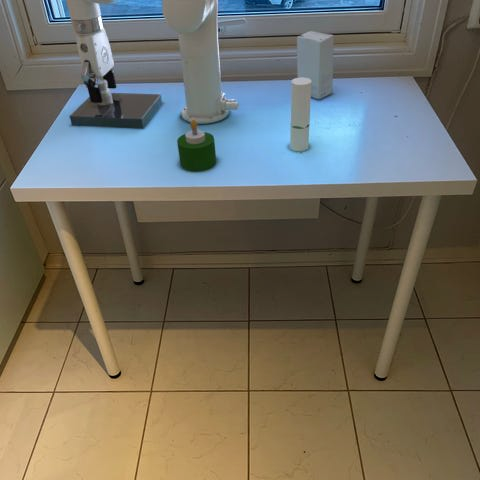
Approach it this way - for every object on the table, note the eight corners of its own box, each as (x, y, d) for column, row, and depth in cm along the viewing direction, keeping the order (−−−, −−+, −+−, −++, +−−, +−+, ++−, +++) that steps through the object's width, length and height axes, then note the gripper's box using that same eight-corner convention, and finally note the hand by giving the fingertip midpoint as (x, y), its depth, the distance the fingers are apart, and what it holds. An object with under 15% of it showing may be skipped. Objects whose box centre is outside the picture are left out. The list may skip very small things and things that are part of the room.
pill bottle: (116, 107, 145) (110, 78, 139) (112, 113, 142) (105, 84, 136) (101, 107, 145) (94, 78, 140) (96, 114, 142) (89, 84, 137)
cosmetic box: (332, 93, 144) (336, 35, 133) (318, 100, 141) (321, 41, 130) (309, 86, 148) (311, 29, 138) (295, 93, 145) (296, 34, 135)
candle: (180, 155, 122) (174, 113, 115) (215, 152, 123) (211, 110, 116) (180, 172, 116) (173, 129, 109) (216, 169, 117) (213, 126, 110)
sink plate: (162, 103, 145) (160, 94, 143) (143, 128, 134) (141, 119, 132) (95, 101, 149) (93, 92, 147) (71, 125, 138) (69, 116, 136)
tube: (287, 145, 123) (287, 79, 113) (303, 141, 124) (305, 76, 114) (295, 152, 120) (297, 86, 110) (311, 148, 122) (315, 82, 111)
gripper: (87, 35, 122) (104, 108, 134) (114, 14, 134) (128, 83, 146) (58, 35, 123) (78, 107, 135) (87, 14, 135) (103, 82, 147)
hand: (104, 95), depth 140 cm, fingers open, 9 cm apart
